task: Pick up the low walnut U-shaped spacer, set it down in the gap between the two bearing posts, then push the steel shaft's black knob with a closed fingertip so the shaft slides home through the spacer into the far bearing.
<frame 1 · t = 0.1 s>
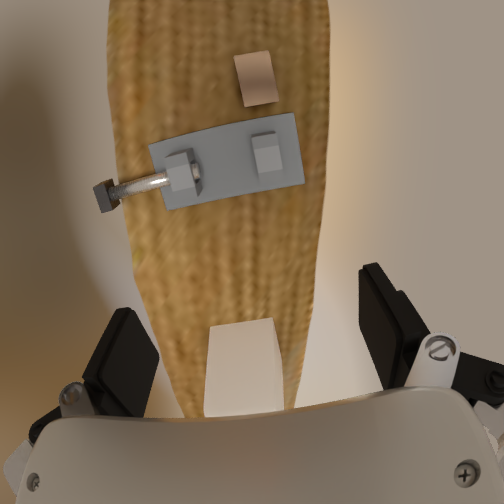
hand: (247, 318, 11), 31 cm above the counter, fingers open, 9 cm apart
milk: (247, 344, 55), on the counter
bearing block: (226, 161, 39), on the counter
spacer: (255, 82, 34), on the counter
shaft: (146, 183, 37), point 2 cm above the counter, slide at 0.0 cm
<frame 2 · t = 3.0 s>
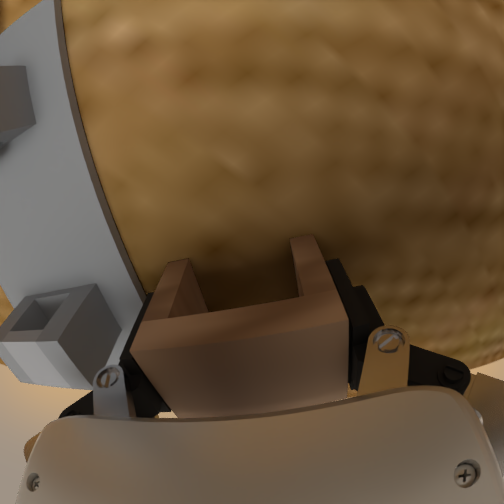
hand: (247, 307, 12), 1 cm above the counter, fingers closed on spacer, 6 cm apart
bearing block: (30, 218, 12), on the counter
spacer: (248, 287, 13), on the counter, touching gripper
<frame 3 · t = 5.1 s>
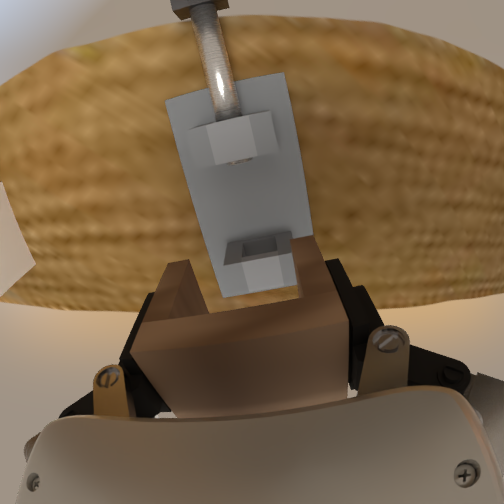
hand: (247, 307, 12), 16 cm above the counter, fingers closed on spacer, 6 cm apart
bearing block: (249, 194, 26), on the counter
spacer: (248, 287, 13), point 14 cm above the counter, touching gripper
shaft: (217, 69, 19), point 3 cm above the counter, slide at 0.0 cm
when the fingers open (3 cm above the counter, at t = 7.4 s): spacer drops 1 cm, resting on bearing block.
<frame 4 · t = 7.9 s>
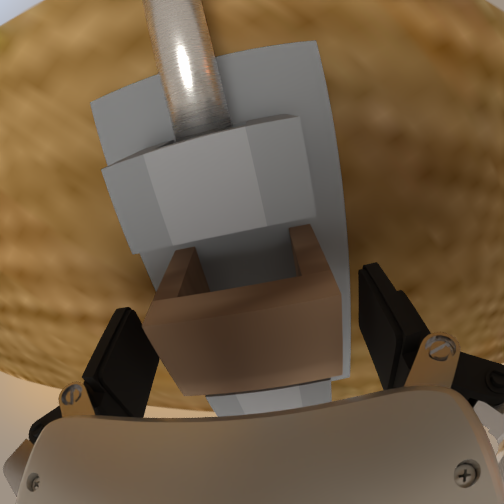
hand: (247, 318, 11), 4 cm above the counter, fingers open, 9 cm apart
bearing block: (248, 267, 15), on the counter
spacer: (250, 273, 14), point 1 cm above the counter, touching bearing block
shaft: (178, 29, 8), point 2 cm above the counter, slide at 0.0 cm
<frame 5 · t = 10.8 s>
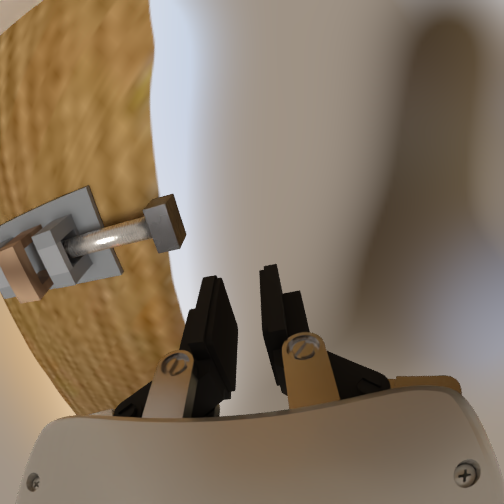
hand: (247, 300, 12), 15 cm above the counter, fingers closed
bearing block: (43, 249, 28), on the counter
spacer: (41, 252, 28), point 1 cm above the counter, touching bearing block
shaft: (103, 238, 25), point 3 cm above the counter, slide at 0.0 cm
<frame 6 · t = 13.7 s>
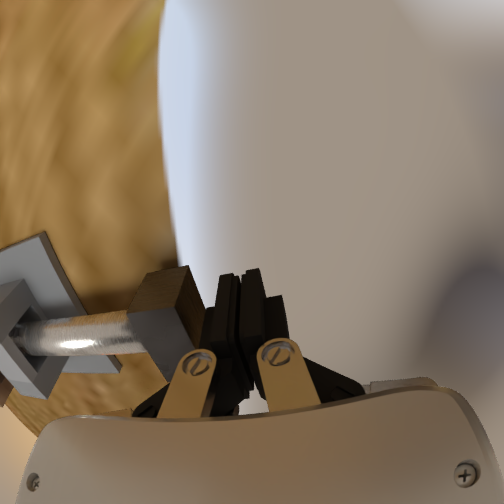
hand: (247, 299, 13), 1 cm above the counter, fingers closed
bearing block: (0, 319, 16), on the counter
shaft: (66, 337, 13), point 2 cm above the counter, slide at 1.0 cm, touching gripper
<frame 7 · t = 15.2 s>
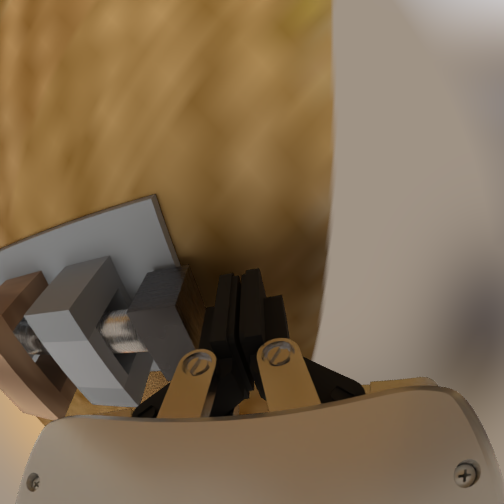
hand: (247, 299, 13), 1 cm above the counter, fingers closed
bearing block: (50, 312, 15), on the counter
spacer: (46, 318, 15), point 1 cm above the counter, touching bearing block
shaft: (66, 335, 13), point 2 cm above the counter, slide at 7.9 cm, touching gripper
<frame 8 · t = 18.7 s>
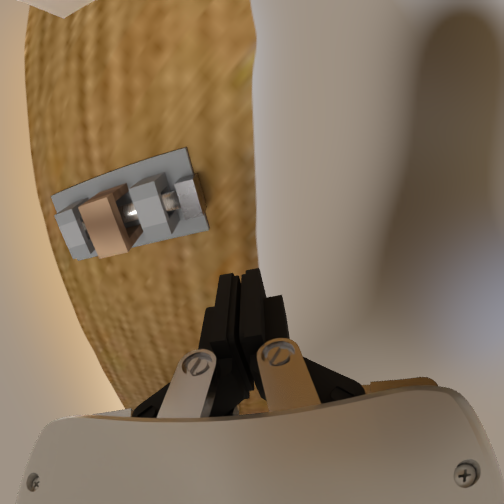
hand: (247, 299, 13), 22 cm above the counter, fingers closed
bearing block: (122, 209, 34), on the counter
spacer: (121, 211, 33), point 1 cm above the counter, touching bearing block
shaft: (137, 210, 31), point 2 cm above the counter, slide at 8.0 cm
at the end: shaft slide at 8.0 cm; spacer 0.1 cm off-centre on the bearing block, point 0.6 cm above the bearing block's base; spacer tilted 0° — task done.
